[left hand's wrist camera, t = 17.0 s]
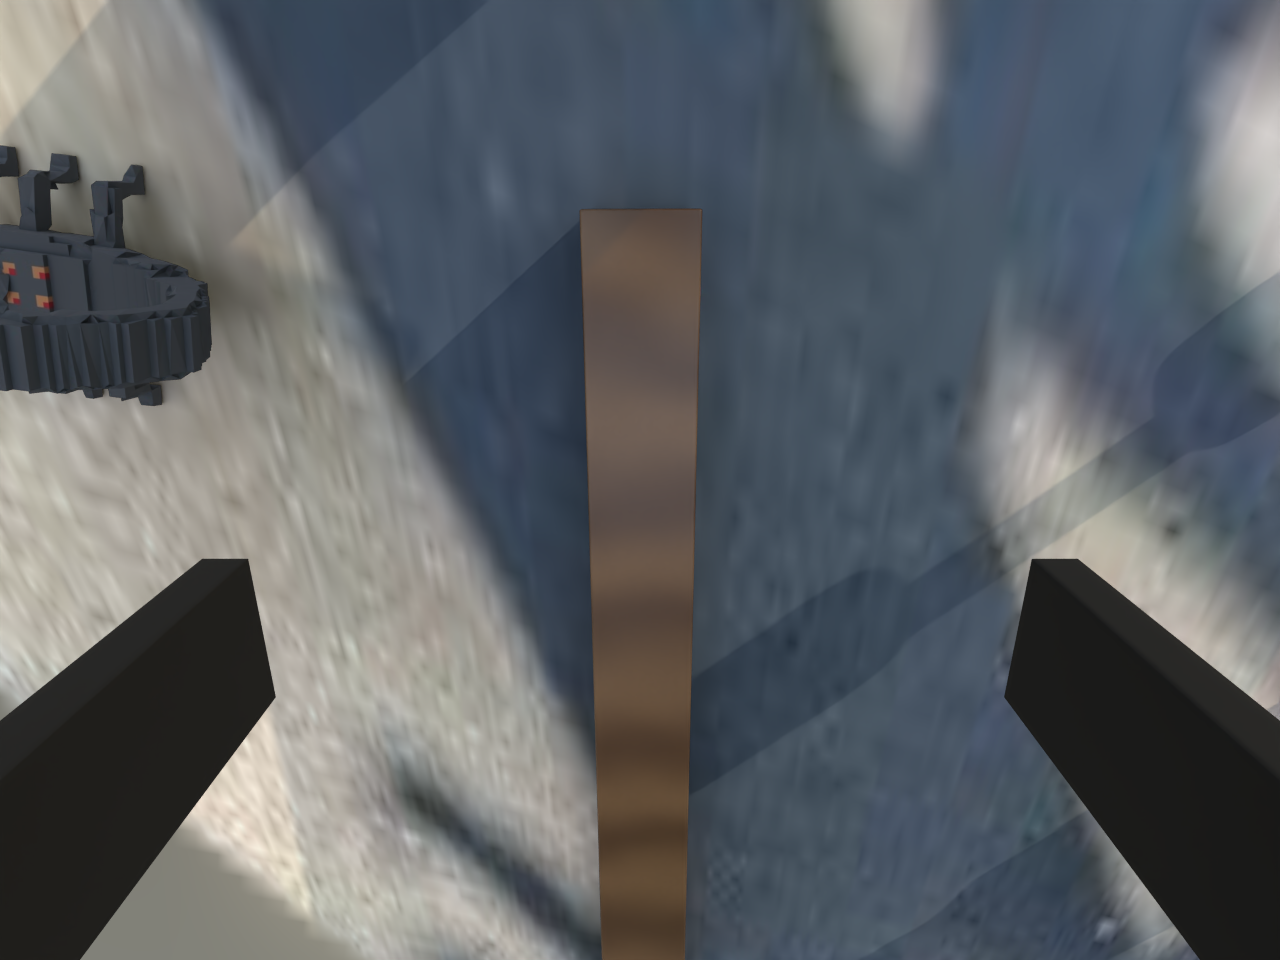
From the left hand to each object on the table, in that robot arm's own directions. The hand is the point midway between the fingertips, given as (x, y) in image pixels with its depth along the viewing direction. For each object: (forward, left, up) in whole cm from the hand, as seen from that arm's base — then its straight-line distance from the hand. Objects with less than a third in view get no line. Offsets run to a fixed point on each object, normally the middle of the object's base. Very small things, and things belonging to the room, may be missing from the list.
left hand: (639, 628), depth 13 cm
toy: (-4, -33, -33) cm, 47 cm away
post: (+23, 0, -33) cm, 40 cm away
